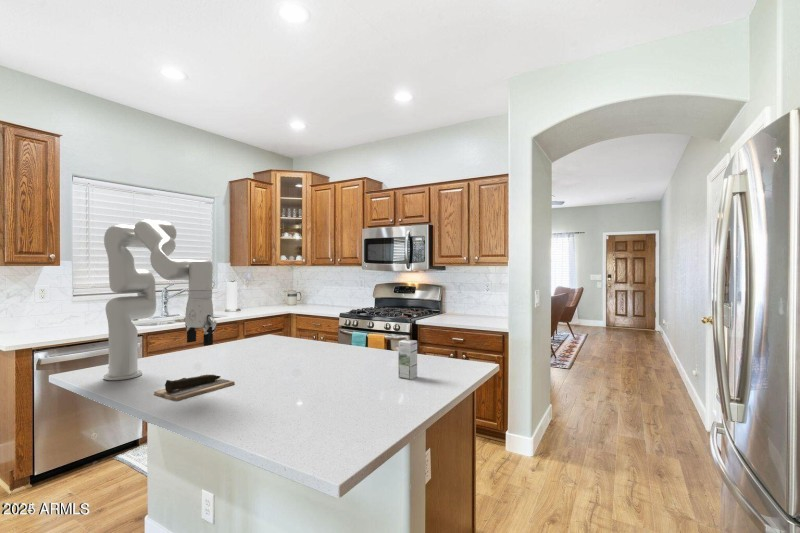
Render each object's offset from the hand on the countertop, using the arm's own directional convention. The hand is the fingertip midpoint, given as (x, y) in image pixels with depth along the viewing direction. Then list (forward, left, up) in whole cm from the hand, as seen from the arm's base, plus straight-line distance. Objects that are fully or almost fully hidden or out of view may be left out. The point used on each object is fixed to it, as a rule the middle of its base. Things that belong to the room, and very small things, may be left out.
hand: (199, 343), depth 144 cm
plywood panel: (-2, 0, -17) cm, 17 cm away
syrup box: (+54, +53, -17) cm, 78 cm away
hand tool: (-1, 0, -14) cm, 14 cm away
